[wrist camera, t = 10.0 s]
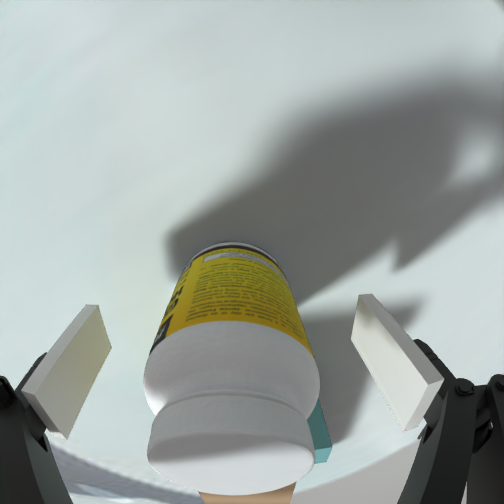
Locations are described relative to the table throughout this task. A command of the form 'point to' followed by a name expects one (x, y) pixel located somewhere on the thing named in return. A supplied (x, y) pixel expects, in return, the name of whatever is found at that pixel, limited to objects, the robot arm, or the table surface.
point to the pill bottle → (231, 377)
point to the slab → (252, 497)
